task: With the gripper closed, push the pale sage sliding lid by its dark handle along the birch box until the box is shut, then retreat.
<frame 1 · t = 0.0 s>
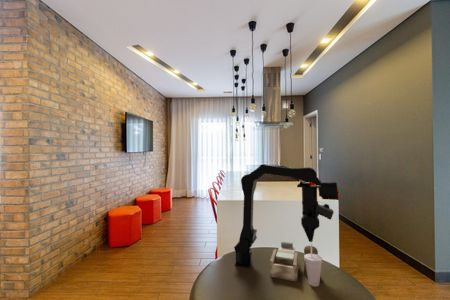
hand: (310, 237, 86), 15 cm above the table, fingers open, 9 cm apart
box: (284, 271, 89), on the table
lid: (285, 250, 94), point 6 cm above the table, slide at 6.0 cm
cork: (311, 275, 86), on the table
smoothie: (313, 284, 80), on the table
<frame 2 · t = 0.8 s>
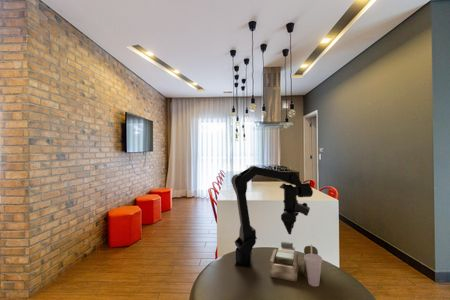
hand: (290, 231, 102), 12 cm above the table, fingers open, 9 cm apart
nothing on the table moved.
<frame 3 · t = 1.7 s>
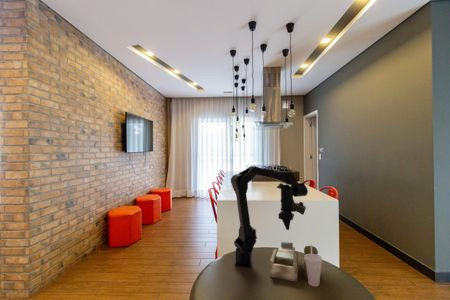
hand: (287, 229, 104), 12 cm above the table, fingers closed
nothing on the table moved.
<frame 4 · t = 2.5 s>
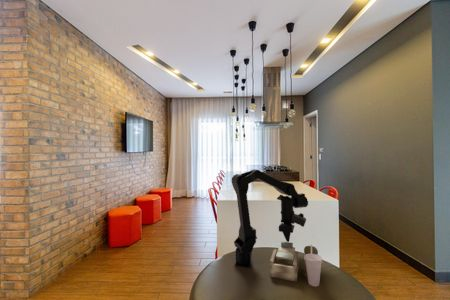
hand: (287, 241, 104), 6 cm above the table, fingers closed
nothing on the table moved.
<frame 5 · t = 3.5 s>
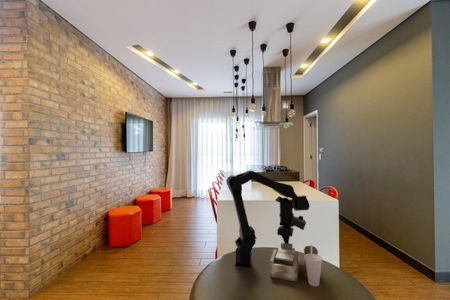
hand: (286, 245, 100), 6 cm above the table, fingers closed
lid: (285, 251, 93), point 6 cm above the table, slide at 4.8 cm, touching gripper
everything else where it was.
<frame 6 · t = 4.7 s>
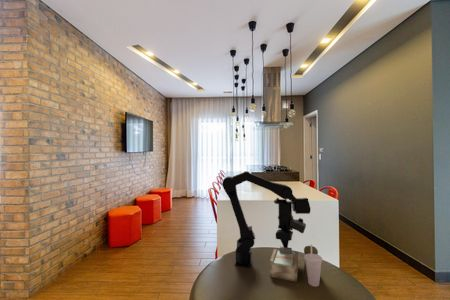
hand: (285, 249, 95), 6 cm above the table, fingers closed
lid: (284, 255, 89), point 6 cm above the table, slide at 0.0 cm, touching gripper
everything else where it was.
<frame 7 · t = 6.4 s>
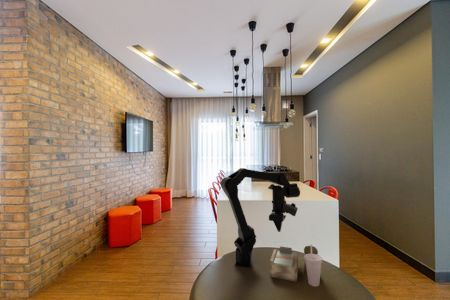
hand: (279, 231, 102), 12 cm above the table, fingers closed
lid: (284, 255, 89), point 6 cm above the table, slide at 0.0 cm
everything else where it was.
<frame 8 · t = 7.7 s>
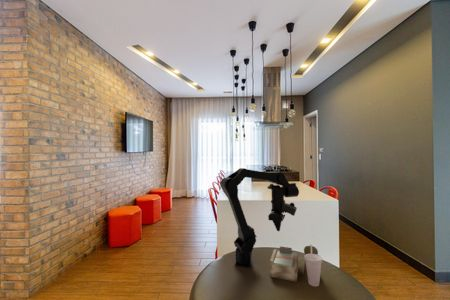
hand: (278, 231, 103), 12 cm above the table, fingers closed
nothing on the table moved.
at the end: lid slide at 0.0 cm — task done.
